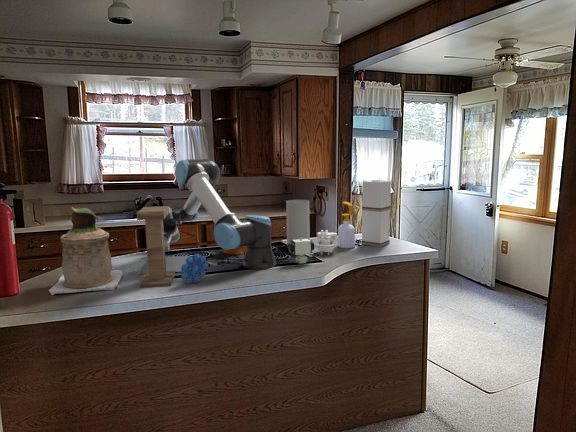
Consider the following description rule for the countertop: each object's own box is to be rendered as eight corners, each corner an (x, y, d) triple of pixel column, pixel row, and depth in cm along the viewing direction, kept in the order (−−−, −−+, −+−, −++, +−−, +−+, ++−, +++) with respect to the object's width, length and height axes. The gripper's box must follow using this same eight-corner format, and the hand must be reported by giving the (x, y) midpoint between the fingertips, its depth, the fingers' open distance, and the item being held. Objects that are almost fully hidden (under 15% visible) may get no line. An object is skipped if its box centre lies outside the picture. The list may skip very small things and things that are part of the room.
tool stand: (170, 285, 168) (166, 211, 163) (139, 287, 166) (133, 212, 161) (175, 274, 183) (171, 205, 179) (146, 275, 182) (141, 207, 177)
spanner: (168, 251, 186) (168, 246, 185) (154, 251, 185) (153, 246, 185) (173, 238, 208) (173, 233, 207) (160, 238, 207) (160, 233, 206)
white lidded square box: (389, 243, 235) (390, 180, 229) (380, 246, 227) (381, 182, 221) (371, 240, 242) (372, 180, 236) (361, 244, 234) (362, 181, 229)
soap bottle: (342, 244, 235) (343, 200, 231) (357, 245, 230) (358, 201, 226) (334, 247, 228) (334, 202, 224) (349, 249, 223) (350, 203, 219)
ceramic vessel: (214, 254, 216) (213, 226, 214) (242, 244, 239) (241, 218, 237) (237, 257, 210) (236, 228, 208) (263, 246, 233) (262, 219, 231)
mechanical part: (313, 256, 210) (313, 232, 208) (316, 250, 222) (315, 228, 220) (336, 256, 208) (336, 233, 206) (337, 250, 220) (337, 228, 218)
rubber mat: (184, 272, 186) (184, 271, 186) (137, 275, 183) (137, 273, 183) (189, 256, 213) (189, 255, 213) (148, 258, 210) (148, 257, 210)
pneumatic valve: (314, 262, 198) (314, 237, 196) (291, 265, 194) (290, 239, 192) (310, 259, 203) (310, 235, 201) (287, 262, 199) (287, 237, 197)
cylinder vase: (282, 246, 231) (281, 201, 227) (295, 242, 241) (294, 199, 237) (301, 249, 224) (301, 203, 220) (313, 245, 234) (313, 200, 230)
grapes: (204, 277, 178) (203, 249, 176) (211, 281, 172) (209, 253, 170) (177, 282, 171) (176, 254, 169) (183, 287, 166) (182, 257, 164)
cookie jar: (118, 290, 164) (111, 208, 159) (47, 297, 157) (38, 212, 152) (123, 272, 187) (117, 201, 182) (62, 278, 180) (54, 204, 175)
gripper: (188, 233, 217) (184, 217, 196) (150, 235, 214) (141, 219, 193) (188, 220, 220) (183, 202, 198) (150, 221, 217) (141, 204, 195)
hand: (162, 211), depth 196 cm, fingers open, 6 cm apart
